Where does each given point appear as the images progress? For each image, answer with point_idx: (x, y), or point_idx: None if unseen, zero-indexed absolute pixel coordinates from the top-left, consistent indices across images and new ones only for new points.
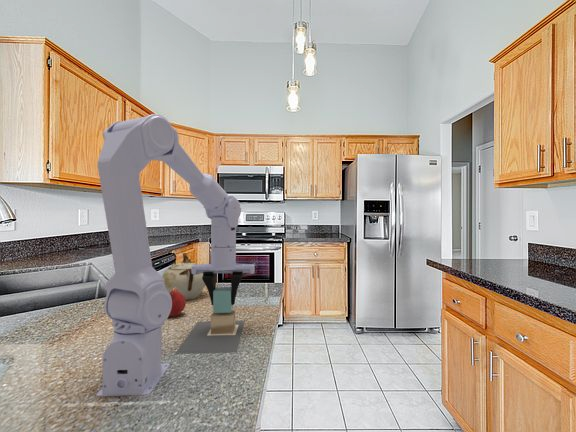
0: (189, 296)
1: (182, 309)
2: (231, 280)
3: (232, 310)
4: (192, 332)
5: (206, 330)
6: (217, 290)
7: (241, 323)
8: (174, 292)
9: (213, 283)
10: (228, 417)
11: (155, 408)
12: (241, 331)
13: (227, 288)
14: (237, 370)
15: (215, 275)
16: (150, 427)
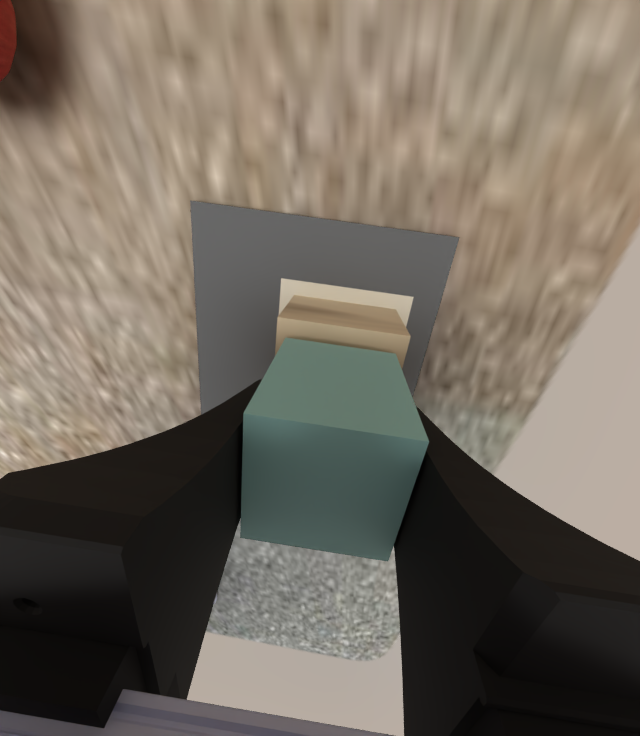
0: None
1: (10, 40)
2: (408, 702)
3: (389, 351)
4: (208, 351)
5: (262, 341)
6: (272, 527)
7: (431, 279)
8: None
9: (212, 582)
10: (348, 648)
11: (239, 616)
12: (414, 381)
13: (363, 485)
14: (371, 567)
15: (167, 578)
16: (247, 639)
